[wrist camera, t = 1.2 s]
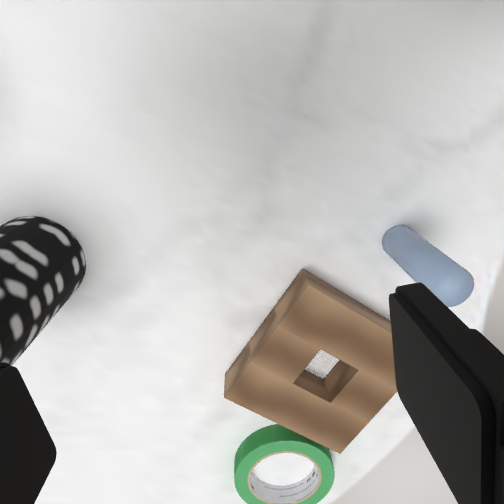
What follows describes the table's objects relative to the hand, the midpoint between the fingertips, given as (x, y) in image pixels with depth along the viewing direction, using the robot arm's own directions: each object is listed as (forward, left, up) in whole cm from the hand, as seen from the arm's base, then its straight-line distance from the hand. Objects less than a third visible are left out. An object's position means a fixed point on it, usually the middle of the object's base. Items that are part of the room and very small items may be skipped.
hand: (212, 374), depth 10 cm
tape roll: (+25, +22, -27) cm, 43 cm away
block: (+11, +17, -26) cm, 33 cm away
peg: (-3, +16, -26) cm, 31 cm away
